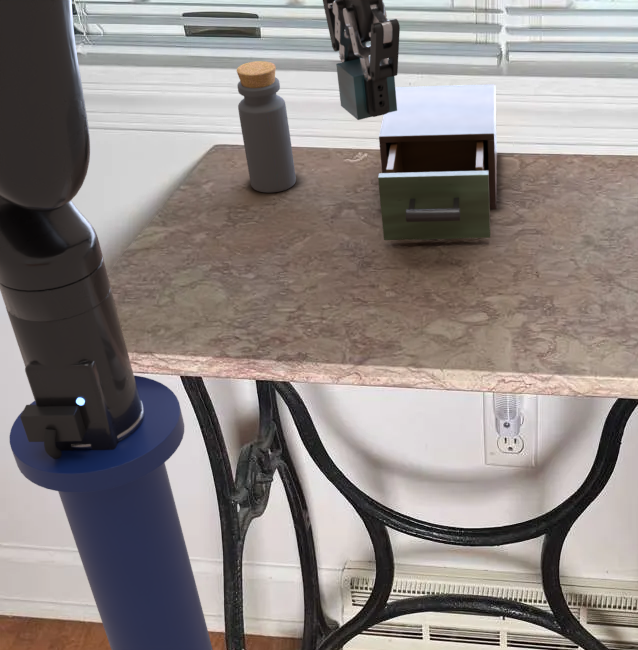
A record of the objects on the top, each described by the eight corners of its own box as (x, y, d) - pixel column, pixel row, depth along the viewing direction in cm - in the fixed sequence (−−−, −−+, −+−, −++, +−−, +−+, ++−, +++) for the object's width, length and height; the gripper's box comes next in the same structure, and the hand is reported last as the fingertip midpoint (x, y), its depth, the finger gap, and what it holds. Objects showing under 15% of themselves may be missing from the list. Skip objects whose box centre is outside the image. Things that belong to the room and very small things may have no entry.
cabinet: (496, 208, 145) (494, 133, 139) (385, 211, 146) (378, 136, 139) (496, 155, 157) (495, 83, 151) (394, 157, 158) (388, 86, 152)
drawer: (489, 255, 134) (487, 191, 129) (380, 258, 134) (374, 194, 130) (491, 183, 149) (489, 123, 144) (393, 185, 149) (387, 125, 144)
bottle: (282, 169, 156) (265, 55, 147) (304, 184, 152) (288, 68, 143) (242, 182, 154) (223, 67, 144) (264, 197, 150) (245, 80, 140)
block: (397, 110, 121) (393, 67, 118) (357, 120, 119) (353, 77, 116) (379, 96, 124) (375, 54, 121) (340, 106, 122) (336, 63, 119)
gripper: (285, -83, 114) (308, 91, 125) (344, -47, 104) (363, 138, 115) (357, -95, 117) (373, 77, 127) (420, -62, 107) (432, 121, 118)
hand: (368, 105), depth 121 cm, fingers closed on block, 4 cm apart
